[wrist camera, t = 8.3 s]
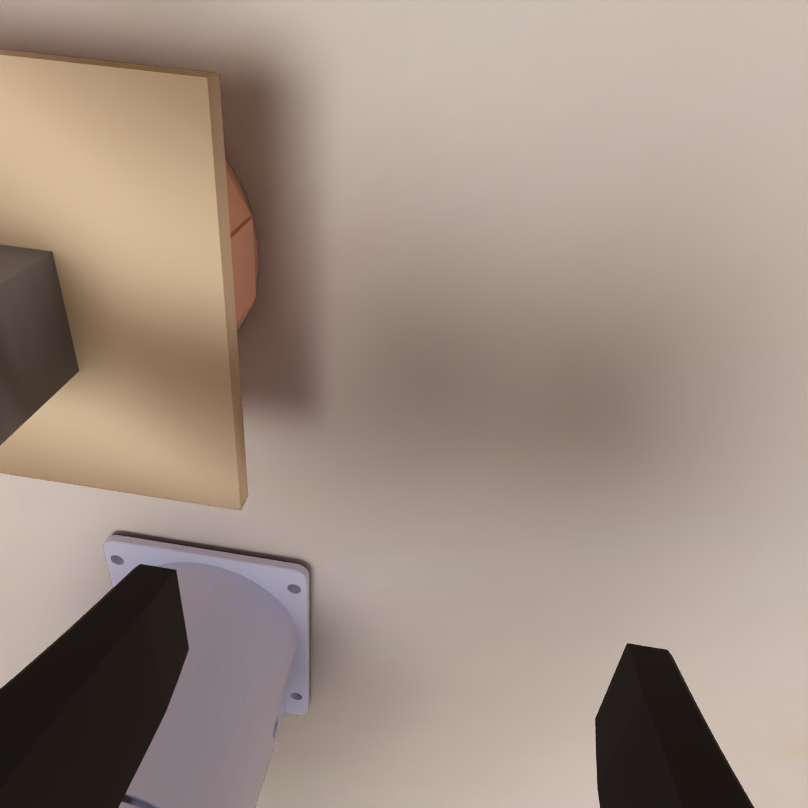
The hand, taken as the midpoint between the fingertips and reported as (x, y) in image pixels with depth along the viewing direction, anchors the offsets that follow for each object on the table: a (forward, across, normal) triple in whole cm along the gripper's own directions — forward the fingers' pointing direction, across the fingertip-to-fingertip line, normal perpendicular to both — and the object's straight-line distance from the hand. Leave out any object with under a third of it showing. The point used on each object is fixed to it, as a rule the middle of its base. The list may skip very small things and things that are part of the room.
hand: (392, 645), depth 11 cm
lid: (+6, +10, -2) cm, 12 cm away
